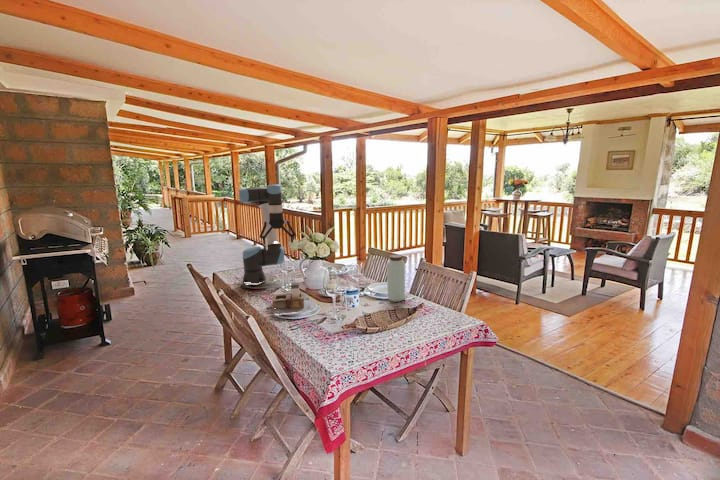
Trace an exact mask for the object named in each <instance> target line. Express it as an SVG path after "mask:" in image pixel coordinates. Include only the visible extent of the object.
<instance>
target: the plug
mask: <svg viewBox="0 0 720 480" xmlns="http://www.w3.org/2000/svg"><path fill="white" fill-rule="evenodd" d="M290 285H291V286H290V287H291V293H292V298H296V297H300V292H301V291H300V282H299V281H298V282H291V284H290Z"/></svg>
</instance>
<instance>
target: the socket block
mask: <svg viewBox="0 0 720 480" xmlns="http://www.w3.org/2000/svg"><path fill="white" fill-rule="evenodd" d="M299 292H300V297H296V298H292V292H290V293H289V292H288V293H278V294H273V298H272V310H273V309H274V308H276V309H282V310H292V309H304V308H305V300H304V294H305V293H304V292H302V291H299Z"/></svg>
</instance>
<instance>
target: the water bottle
mask: <svg viewBox="0 0 720 480" xmlns="http://www.w3.org/2000/svg"><path fill="white" fill-rule="evenodd" d="M402 258H403V256H402V255H400V254H391V255H389V259H388V260H387V262H386V269H387V270H386V274H387V276H386V277H387V279H386V280H387V284H386V285H387V298H388V300H389V301H391V302H396V303H397V302H401V301H404V300H405V298H406V294H405V293H406V291H405V290H406V289H405V288H406V287H405V286H406V285H405V284H406V283H405V281H406V280H405V278H406V276H405V274H406V273H405V271H406V270H405V268H406V267H405V261H404V259H402Z"/></svg>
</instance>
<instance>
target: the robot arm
mask: <svg viewBox="0 0 720 480" xmlns="http://www.w3.org/2000/svg"><path fill="white" fill-rule="evenodd" d="M238 198H239V202H241V203H242V204H245V205H258V206H257V207H258V208H259V209H260V210H261V219H262V226H263V227H262V229H261V232H260V234H259V238H260V239H262V243H263V248H262V247H260V246H252V247H248V248H246V249H244V250H243V251H242V260H243V261H242V262H243V277H242V284H243V283H244V282H251V283H259V282H263V281H265V280H266V281H267V277H266V275H265V272H264V269H263V267H267V266H274V265H275V266H276V265H282V264H283V263H284V261H285V247H284V246H283V245H282V243H281V242H280V241H279V236H278V235H279V234H278V229H282V230H283V231H284V232H285V233H286V234H287V235H288V236H289V249H290V250H291V249H292V247H293V246H292V244H293V243H294V237H296V235H297V233H296V231H295V230H294V228H293V227H292V225H291V224H290V223H291V222H290V220H289V219H287V220H284V213H283V212H284V211H283V201H282V199H283V198H282V187H281V184H275V183H274V184H268V185H267V186H254V187H253V186H251V187H247V188H239V189H238ZM284 224H286V225H287V226H288V228H289V230H290V231H289V230H288V229H287V227H286V226H285V225H284Z"/></svg>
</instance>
